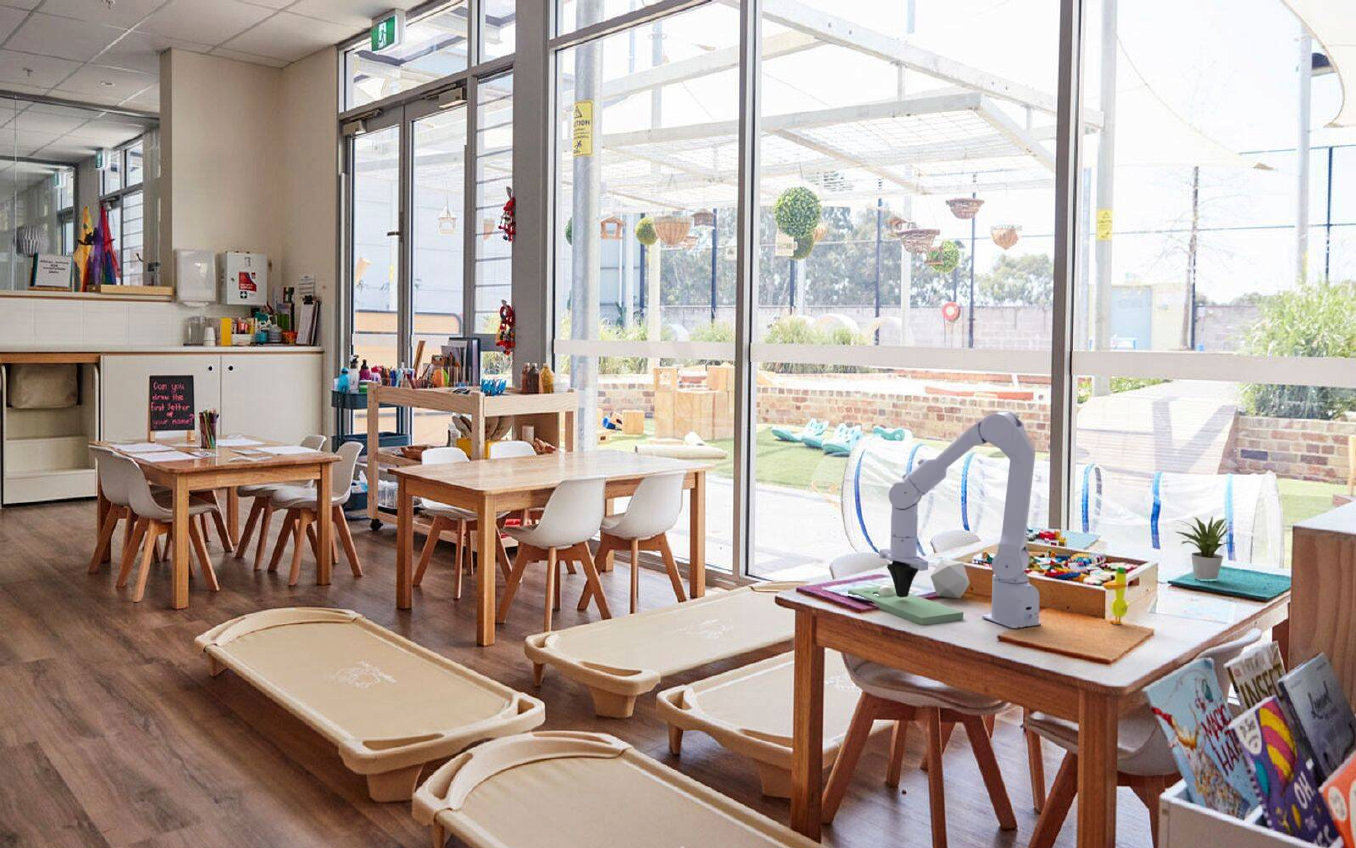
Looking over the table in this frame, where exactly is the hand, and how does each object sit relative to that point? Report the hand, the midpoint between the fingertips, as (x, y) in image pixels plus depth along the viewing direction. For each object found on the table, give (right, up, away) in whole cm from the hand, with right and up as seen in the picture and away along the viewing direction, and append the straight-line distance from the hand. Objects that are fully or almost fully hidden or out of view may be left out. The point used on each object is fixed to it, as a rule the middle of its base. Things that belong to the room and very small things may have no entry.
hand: (902, 596), depth 238 cm
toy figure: (+42, -4, -12) cm, 44 cm away
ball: (-3, 0, +5) cm, 6 cm away
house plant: (+82, -1, +31) cm, 88 cm away
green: (0, -2, 0) cm, 2 cm away
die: (+13, -2, +11) cm, 17 cm away
